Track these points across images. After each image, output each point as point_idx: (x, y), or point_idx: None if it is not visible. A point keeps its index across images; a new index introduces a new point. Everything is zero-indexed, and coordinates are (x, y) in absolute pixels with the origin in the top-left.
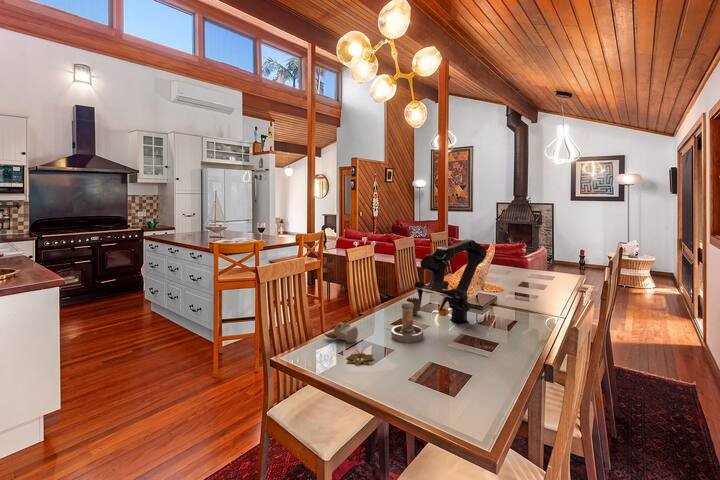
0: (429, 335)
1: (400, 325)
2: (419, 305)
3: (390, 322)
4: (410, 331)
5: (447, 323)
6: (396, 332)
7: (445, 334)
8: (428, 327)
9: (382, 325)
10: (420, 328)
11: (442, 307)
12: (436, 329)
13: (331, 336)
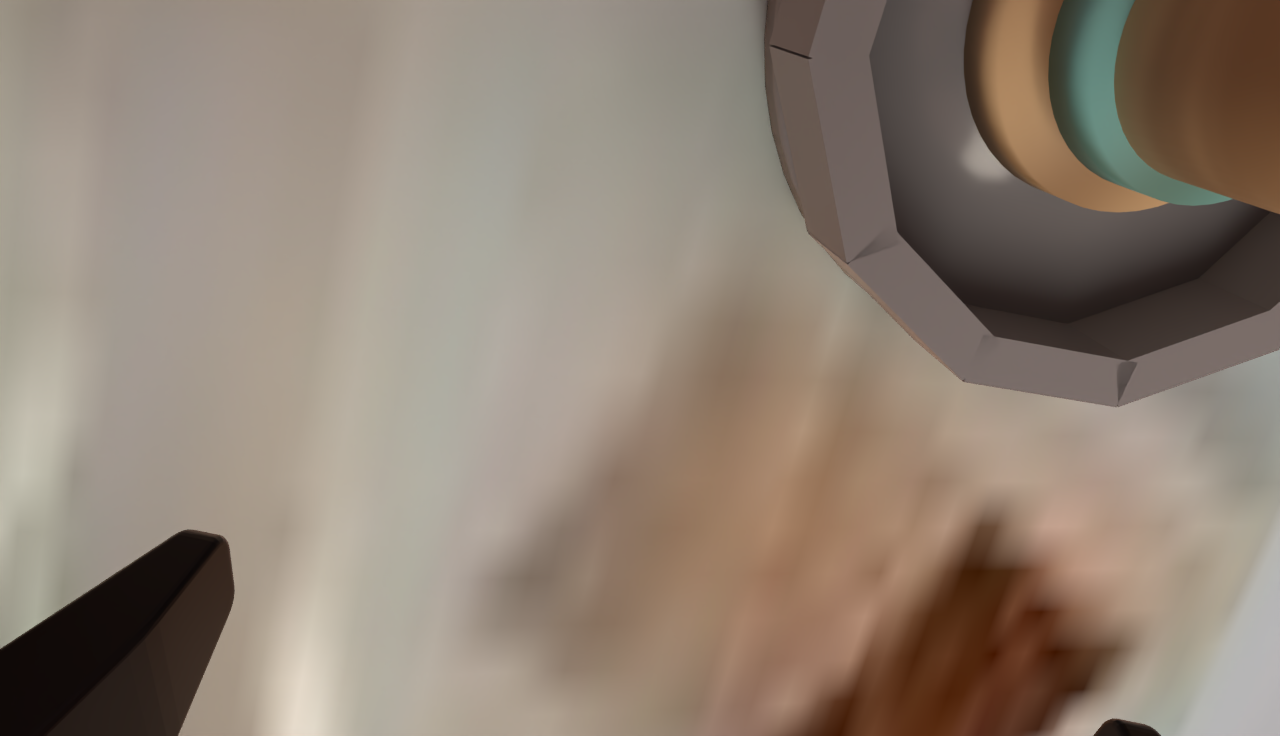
0: (605, 58)
1: (1208, 355)
2: (1133, 726)
3: (1098, 719)
4: None
5: None
6: None
7: (192, 87)
8: (521, 519)
9: (1262, 598)
10: (860, 127)
11: (21, 650)
12: (369, 412)
13: None
